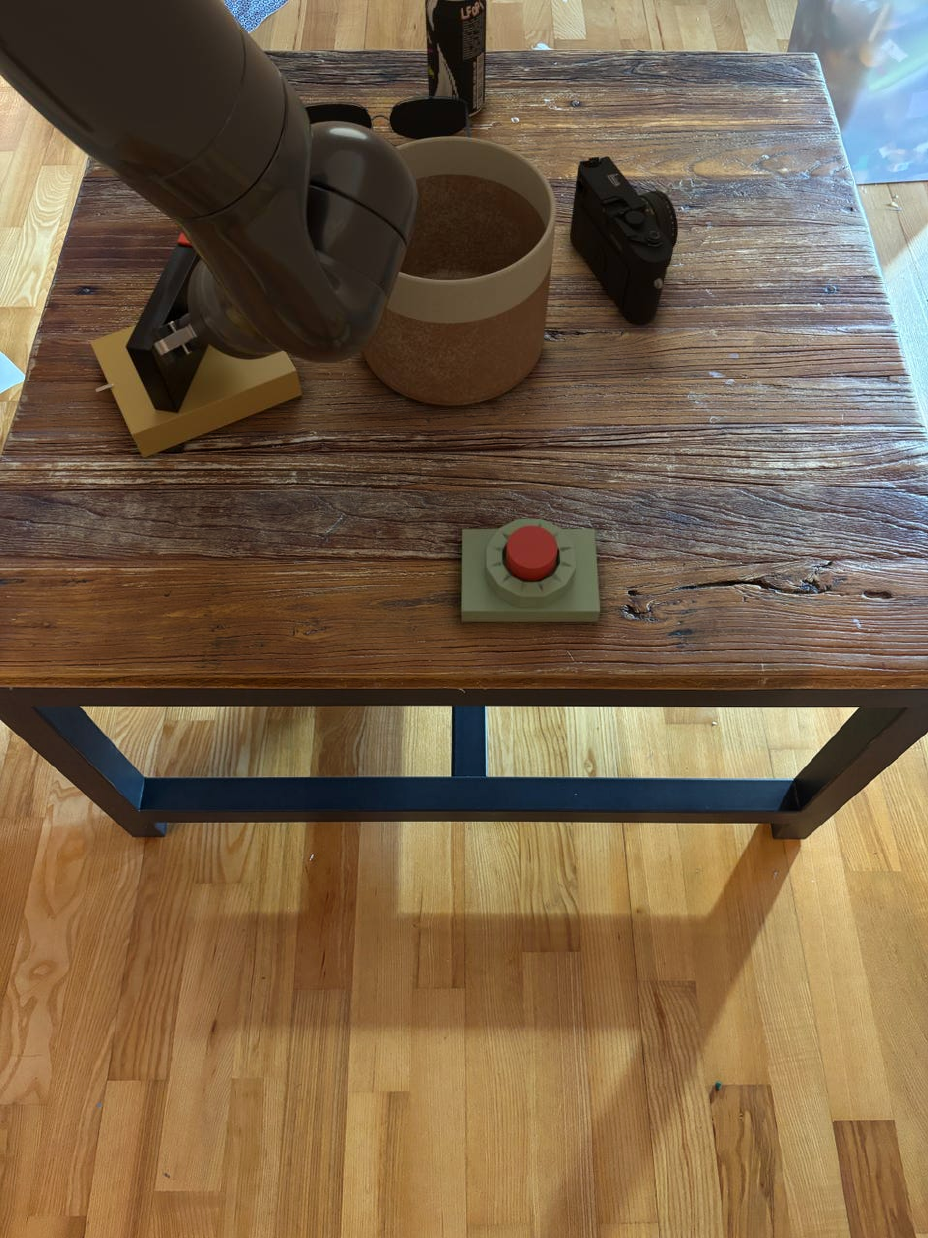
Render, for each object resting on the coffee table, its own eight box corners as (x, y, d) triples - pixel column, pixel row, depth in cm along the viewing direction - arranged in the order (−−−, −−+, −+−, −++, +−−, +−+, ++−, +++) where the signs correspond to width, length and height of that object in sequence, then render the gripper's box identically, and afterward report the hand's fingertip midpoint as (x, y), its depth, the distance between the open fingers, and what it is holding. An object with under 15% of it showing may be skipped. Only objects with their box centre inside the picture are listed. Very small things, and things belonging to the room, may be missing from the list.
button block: (461, 621, 68) (461, 599, 64) (462, 540, 71) (461, 515, 68) (597, 622, 68) (603, 599, 64) (592, 540, 71) (597, 515, 68)
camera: (702, 310, 81) (724, 236, 74) (631, 336, 80) (646, 262, 73) (624, 209, 87) (638, 131, 80) (557, 231, 86) (565, 154, 79)
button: (506, 580, 66) (507, 568, 64) (505, 537, 67) (506, 525, 66) (556, 581, 66) (558, 568, 64) (554, 538, 67) (556, 525, 66)
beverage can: (430, 88, 96) (426, -37, 85) (485, 90, 96) (487, -36, 85) (427, 124, 93) (422, -1, 83) (484, 125, 93) (485, 1, 82)
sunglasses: (468, 135, 92) (468, 92, 88) (479, 253, 87) (480, 214, 83) (296, 145, 92) (287, 102, 87) (298, 264, 87) (289, 225, 82)
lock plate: (130, 463, 74) (117, 438, 72) (89, 371, 79) (75, 344, 76) (314, 390, 78) (308, 364, 75) (265, 305, 82) (258, 277, 79)
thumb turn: (178, 413, 73) (149, 348, 66) (154, 409, 73) (123, 344, 66) (226, 304, 78) (204, 234, 72) (204, 300, 78) (180, 230, 72)
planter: (401, 256, 85) (390, 116, 72) (566, 299, 82) (583, 161, 70) (332, 382, 78) (306, 251, 66) (509, 433, 75) (517, 306, 63)
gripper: (315, 191, 59) (259, 242, 74) (131, 283, 55) (112, 317, 71) (371, 302, 62) (305, 329, 77) (198, 396, 58) (166, 405, 74)
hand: (212, 323), depth 74 cm, fingers closed
